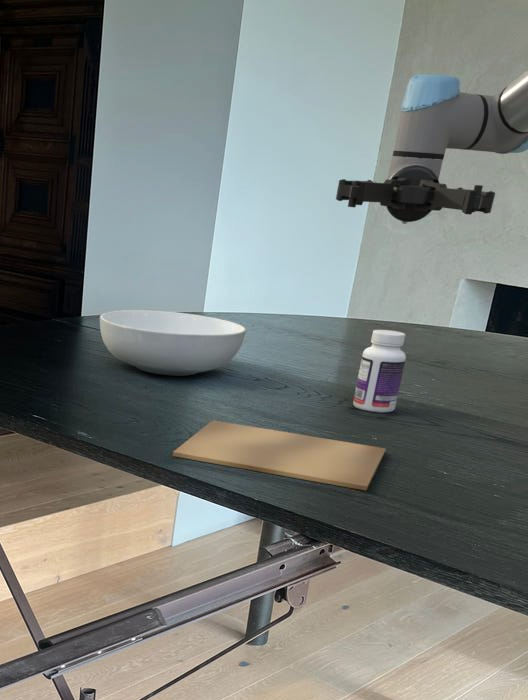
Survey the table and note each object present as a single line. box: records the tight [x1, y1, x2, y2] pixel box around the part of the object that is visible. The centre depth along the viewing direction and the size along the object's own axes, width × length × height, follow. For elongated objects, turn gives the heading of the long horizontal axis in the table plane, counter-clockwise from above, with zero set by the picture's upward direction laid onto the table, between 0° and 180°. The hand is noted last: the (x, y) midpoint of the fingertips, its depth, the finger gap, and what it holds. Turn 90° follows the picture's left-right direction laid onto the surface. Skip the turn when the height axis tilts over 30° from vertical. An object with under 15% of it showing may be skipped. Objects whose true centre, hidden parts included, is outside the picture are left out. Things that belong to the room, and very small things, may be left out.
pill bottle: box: [352, 329, 407, 414], centre depth 128 cm, size 5×5×10 cm
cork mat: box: [172, 419, 387, 491], centre depth 107 cm, size 20×16×1 cm
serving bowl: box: [99, 309, 247, 377], centre depth 143 cm, size 21×21×7 cm
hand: (415, 198), depth 127 cm, fingers open, 13 cm apart
